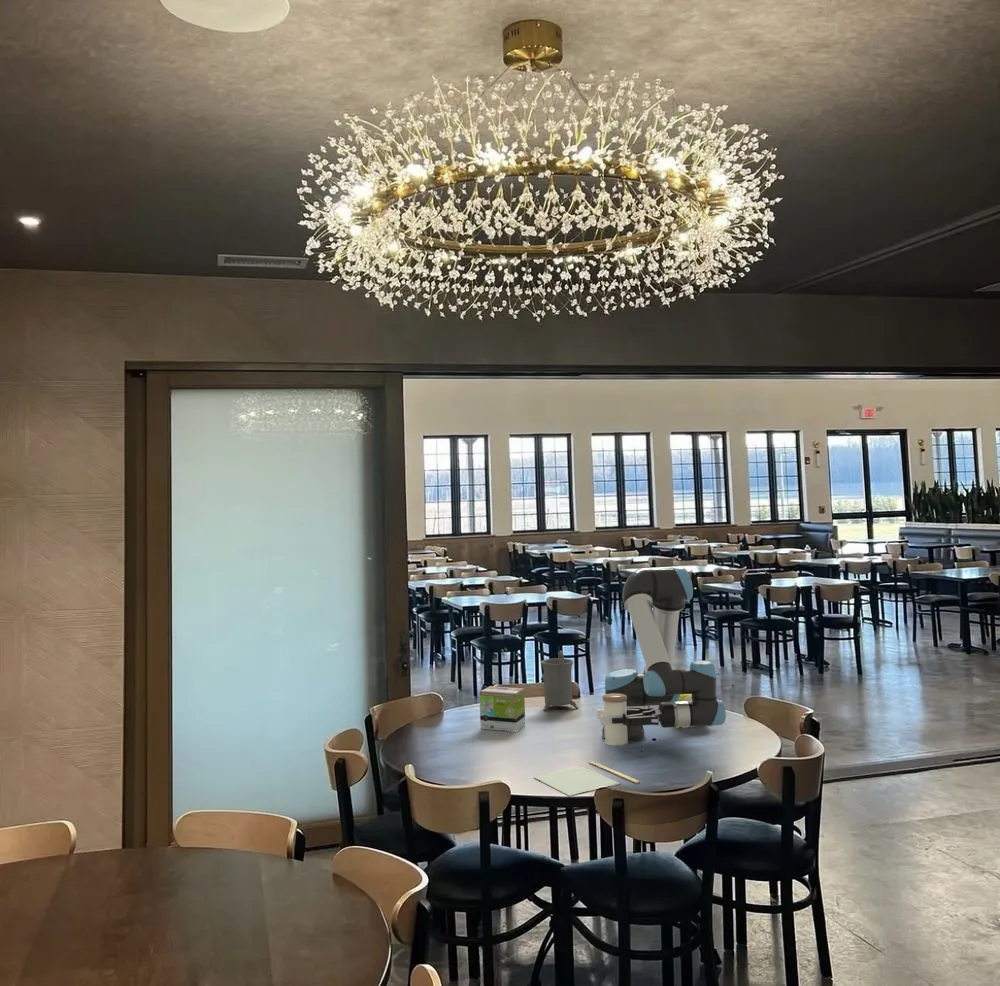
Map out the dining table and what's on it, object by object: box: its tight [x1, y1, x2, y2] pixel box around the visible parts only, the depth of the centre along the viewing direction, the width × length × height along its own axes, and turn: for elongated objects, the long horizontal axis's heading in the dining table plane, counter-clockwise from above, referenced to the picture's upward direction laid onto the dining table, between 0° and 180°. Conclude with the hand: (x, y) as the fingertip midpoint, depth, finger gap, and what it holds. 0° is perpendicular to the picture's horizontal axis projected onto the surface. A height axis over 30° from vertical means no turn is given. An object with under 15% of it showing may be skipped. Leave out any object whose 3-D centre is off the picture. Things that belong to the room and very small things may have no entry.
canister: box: [601, 693, 629, 746], centre depth 245 cm, size 7×7×14 cm
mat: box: [533, 765, 621, 797], centre depth 241 cm, size 20×18×1 cm
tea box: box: [479, 685, 526, 732], centre depth 306 cm, size 15×10×15 cm, turn 68°
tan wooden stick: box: [588, 760, 641, 784], centre depth 248 cm, size 24×2×1 cm, turn 29°
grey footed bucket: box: [540, 650, 579, 712], centre depth 334 cm, size 19×15×25 cm
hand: (599, 717), depth 245 cm, fingers closed on canister, 7 cm apart
